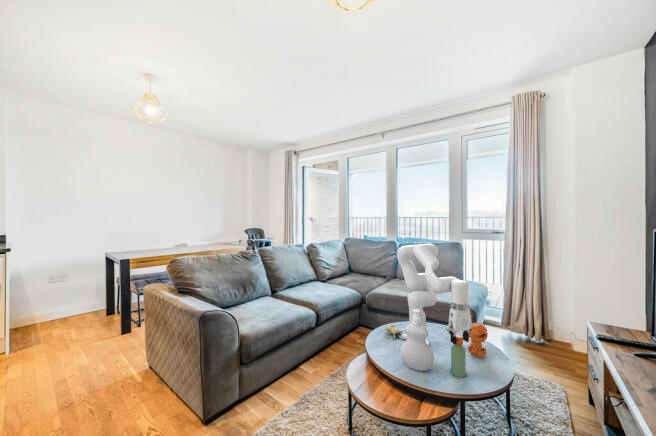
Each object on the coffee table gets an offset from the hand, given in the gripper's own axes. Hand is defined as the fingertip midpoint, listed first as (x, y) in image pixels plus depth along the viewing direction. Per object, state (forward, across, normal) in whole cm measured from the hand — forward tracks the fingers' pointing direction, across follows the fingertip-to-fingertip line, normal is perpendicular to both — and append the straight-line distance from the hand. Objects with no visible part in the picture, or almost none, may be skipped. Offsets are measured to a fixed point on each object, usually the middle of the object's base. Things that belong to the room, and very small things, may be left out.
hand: (459, 341), depth 132 cm
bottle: (+16, 0, +1) cm, 16 cm away
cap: (+1, 0, +1) cm, 1 cm away
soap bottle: (+16, -16, +12) cm, 26 cm away
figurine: (+17, -7, +46) cm, 49 cm away
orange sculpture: (+16, +23, +12) cm, 31 cm away
